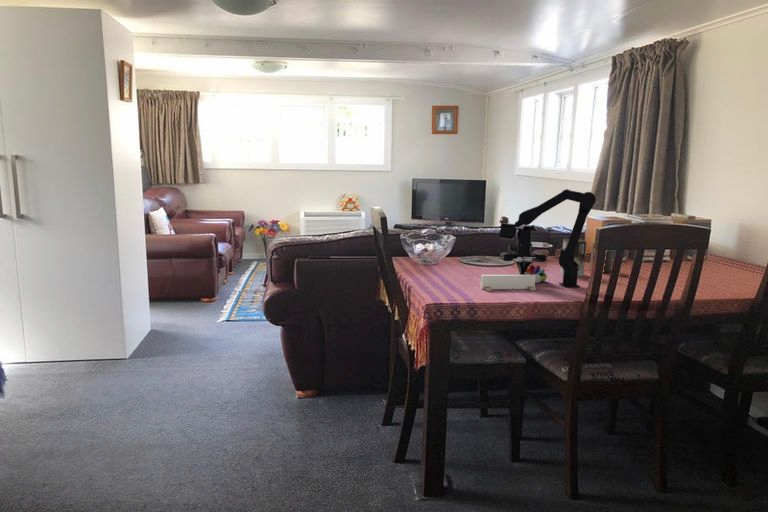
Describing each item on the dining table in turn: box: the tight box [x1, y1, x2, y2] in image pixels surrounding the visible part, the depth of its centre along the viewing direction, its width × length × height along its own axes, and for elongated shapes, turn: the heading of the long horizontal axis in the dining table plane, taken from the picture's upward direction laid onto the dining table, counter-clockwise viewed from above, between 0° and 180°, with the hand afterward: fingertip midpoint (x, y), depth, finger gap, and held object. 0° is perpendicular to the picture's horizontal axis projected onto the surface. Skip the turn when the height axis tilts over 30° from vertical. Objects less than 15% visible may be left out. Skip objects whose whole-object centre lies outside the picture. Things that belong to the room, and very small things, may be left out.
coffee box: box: [560, 238, 587, 277], centre depth 242 cm, size 9×6×16 cm
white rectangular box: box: [480, 274, 537, 292], centre depth 211 cm, size 6×22×6 cm, turn 97°
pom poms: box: [524, 264, 548, 284], centre depth 227 cm, size 8×10×7 cm
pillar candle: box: [589, 241, 614, 274], centre depth 252 cm, size 10×10×15 cm
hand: (521, 276), depth 227 cm, fingers closed
